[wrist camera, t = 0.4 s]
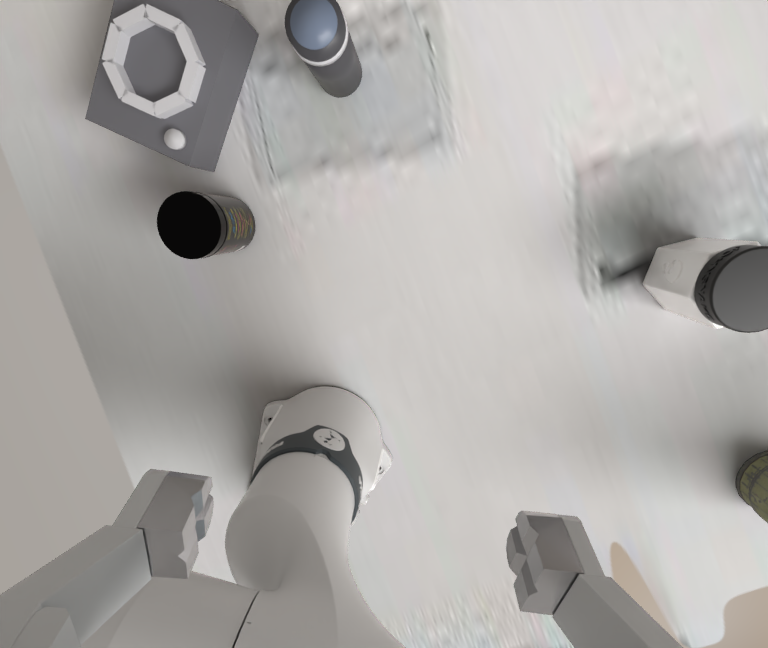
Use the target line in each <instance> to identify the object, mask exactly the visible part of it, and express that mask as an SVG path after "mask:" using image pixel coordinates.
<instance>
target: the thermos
mask: <svg viewBox="0 0 768 648" xmlns="http://www.w3.org/2000/svg"><path fill="white" fill-rule="evenodd" d="M736 488H737V491H738V494H739V496H740V497H741V498H742V499H743V500H744V501H745V502H746V503H747V504H748V505H750V506H751V507H752V508H753V510H754V511H755V512H756V513H757V514H758V515H759V516H760V517H761V518H762V519H764V520H765V521H766V522H767V523H768V451H765V452H762V453H759V454H757V455H755V456H753V457H752V458H750V459H749V460H748V461H746V463H745V464H744V465H743V466H742V467H741V469H740V470H739V473H738V475H737V478H736Z"/></svg>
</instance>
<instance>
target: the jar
mask: <svg viewBox="0 0 768 648" xmlns="http://www.w3.org/2000/svg"><path fill="white" fill-rule="evenodd" d="M643 286H644V287H645V288H646V289H647V290H648V291H649V292H650V294H651V295H652V296H653V297H654V298H655V299H656V300H657V301H658V302H659V303H660V305H661V306H662V307H663V308H664V309H665V310H666V311H669V312H672V313H674V314H677V315H680V316H682V317H685V318H688V319H691V320H693V321H696V322H699V323H702V324H704V325H707V326H710V327H712V328H715V329H719V328H723V327H726V328H728V329H731V330H734V331H738V332H748V333H750V332H759V331H763V330H766V329H768V246H761V245H760V244H759V243H758V242H756V241H742V240H727V239H712V238H693V239H690V240H686V241H682V242H678V243H674V244H670V245H666V246H662V247H658V248H657V250H656V252H655V255H654V257H653V260H652V262H651V264H650V267H649V269H648V272H647V274H646V276H645V279H644V281H643Z"/></svg>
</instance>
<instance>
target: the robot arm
mask: <svg viewBox="0 0 768 648" xmlns="http://www.w3.org/2000/svg"><path fill="white" fill-rule="evenodd" d="M269 418H272V420H270V419H269ZM391 464H392V455H391V453H390V452H389V450H388V449H387V447H386V446H385V444H384V443H383V440H382V436H381V431H380V426H379V423H378V420H377V418H376V416H375V414H374V413H373V411H372V410H371V408H370V407H369V406H368V405H367V404H366V403H365V402H364V401H363V400H362V399H361V398H359V397H358V396H356V395H355V394H353V393H351V392H349V391H346V390H344V389H340V388H336V387H327V386H325V387H315V388H310V389H307V390H305V391H302V392H300V393H299V394H297V395H295V396H294V397H292V398H290V399H287V400H280V401H274V402H271V403H268V404H267V405H266V407H265V409H264V411H263V417H262V423H261V428H260V434H259V440H258V445H257V451H256V457H255V463H254V468H253V474H252V479H251V484H250V487H249V488H248V490H247V492H246V493H245V495H244V496H243V498H242V500H241V501H240V503H239V505H238V506H237V508H236V509H235V511H234V513H233V514H232V516H231V518H230V520H229V523H228V526H227V530H226V536H225V550H226V555H227V559H228V563H229V566H230V570H231V573H232V575H233V577H234V579H235V581H236V583H237V584H234V583H231V582H228V581H224V580H221V579H218V578H214V577H211V576H207V575H204V574H201V573H197V572H194V571H191V570H192V568H193V565H194V563H195V560H196V558H197V555H198V553H199V552H198V541H200V540H201V539H202V538H203V537H205V536H206V533H207V530H208V528H209V525H210V521H211V517H212V513H213V505H214V504H213V497H212V496H211V495H210V494H209V493H210V491H211V488H212V477H208V476H201V475H194V474H187V473H179V472H172V471H164V470H156V469H150V470H148V471H147V472H146V473H145V474H144V476H143V477H142V479H141V480H140V482H139V484H138V485H137V487H136V488H135V490H134V492H133V493H132V495H131V496H130V498H129V500H128V501H127V503H126V504H125V506H124V508H123V509H122V511H121V513H120V514H119V516H118V517H117V519H116V520H115V522H114V524H113V525H112V526H109V525H106V526H104V527H102V528H101V529H99V530H98V531H96V532H95V533H93V534H92V535H90V536H89V537H87V538H86V539H84V540H83V541H81V542H80V543H78V544H77V545H75V546H74V547H72V548H71V549H69V550H68V551H66V552H64V553H63V554H61V555H60V556H58V557H57V558H55V559H54V560H52V561H51V562H49V563H48V564H46V565H45V566H43V567H42V568H40V569H39V570H37V571H36V572H34V573H33V574H31V575H30V576H29V577H27V578H25V579H24V580H22V581H20V582H19V583H17V584H16V585H14V586H13V587H11V588H10V589H8V590H7V591H5V592H4V593H2V594H1V595H0V648H406V647H405V646H404V645H402V644H401V643H400V642H399V641H398V640H397V639H396V638H395V637H394V636H393V635H392V634H391V633H390V632H389V631H388V630H387V629H386V628H385V627H384V625H383V624H382V623H381V622H380V621H379V620H378V618H377V617H376V616H375V614H374V613H373V612H372V610H371V609H370V607H369V606H368V604H367V603H366V601H365V600H364V598H363V596H362V594H361V592H360V590H359V588H358V586H357V584H356V582H355V580H354V577H353V575H352V572H351V569H350V566H349V561H348V544H349V534H350V527H351V526H352V525H353V524H354V523H355V521H356V520H357V518H358V516H359V513H360V510H359V507H360V504H362V505H365V504H366V503H367V502H368V500H369V495H368V493H369V492H370V491H371V490H373V489H374V487H375V485H376V484H377V482H378V481H379V480H380V479H381V478H382V476H383V475H384V474H385V473H386V471H387V470H388V469H389V468H390V466H391ZM380 466H381V468H380ZM516 523H517V526H516V527H515V528H513V529H511V530H510V533H509V535H508V538H507V547H506V551H507V559H508V563H509V567H510V569H511V570H512V571H513V572H514V573H515V574H516V575H517V578H516V580H515V583H514V588H515V592H516V596H517V600H518V604H519V608H520V611H523V612H531V613H539V614H547V615H553V619H554V620H555V621H556V623H557V624H558V626H559V627H560V628H561V630H562V631H563V632H564V634H565V635H566V637H567V638H568V639H569V641H570V642H571V643H572V645H573V646H574V648H683V647H682V646H681V645H680V644H679V643H678V642H677V641H676V640H675V639H674V638H673V637H672V636H671V635H670V634H668V632H666V631H665V630H664V629H663V628H662V627H661V626H660V625H659V624H658V623H657V622H656V621H655V620H654V619H653V618H652V617H651V616H650V615H649V614H648V613H647V612H646V611H645V610H644V609H643V608H642V607H641V606H640V605H639V604H638V603H637V602H636V601H635V600H634V599H633V598H632V597H631V596H629V594H627V593H626V592H625V591H624V590H623V589H622V588H621V587H620V586H619V585H618V584H617V583H616V582H615V581H614V580H613V579H612V578H611V577H605V575H604V572H603V570H602V568H601V566H600V563H599V561H598V559H597V557H596V554H595V552H594V550H593V548H592V545H591V543H590V541H589V539H588V536H587V534H586V532H585V529H584V527H583V525H582V523H581V521H580V519H579V518H578V517H575V516H566V515H557V514H551V513H541V512H530V511H521V512H519V513H518V515H517V517H516Z"/></svg>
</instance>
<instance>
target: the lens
mask: <svg viewBox="0 0 768 648" xmlns="http://www.w3.org/2000/svg"><path fill="white" fill-rule="evenodd" d="M285 29H286V33H287V36H288V39H289V41H290V42H291V44H292V47H293V48H294V50H295V51H296V53H297V54H298V55H299V57H300V58H301V59H302V60H303V61H304V62H305V64H306V65H307V66H308V68H309V69H310V71H311V72H312V73H313V75H314V76H315V78H316V79H317V80H318V82H319V83H320V85H321V86H322V87H323V89H324V90H325V91H326V92H327V93H328V94H330V95H332V96H334V97H346V96H349V95H350V94H352V93H353V92H354V91H355V90H356V89H357V88H358V86H359V84H360V82H361V78H362V68H361V64H360V61H359V59H358V56H357V53H356V50H355V47H354V45H353V42H352V39H351V36H350V33H349V31H348V25H347V22H346V19H345V16H344V14H343V12H342V10H341V9H340V6H339V5H338V3H337V2H336V0H292V1H291V3H290V5H289V6H288V9H287V12H286V16H285Z"/></svg>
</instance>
